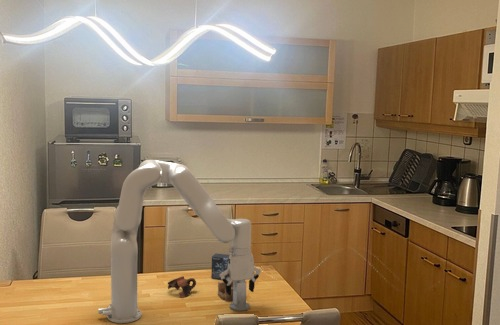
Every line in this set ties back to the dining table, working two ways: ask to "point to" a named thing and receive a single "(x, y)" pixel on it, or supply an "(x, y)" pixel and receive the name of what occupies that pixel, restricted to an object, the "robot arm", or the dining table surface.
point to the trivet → (239, 307)
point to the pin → (239, 293)
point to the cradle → (223, 291)
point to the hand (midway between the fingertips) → (240, 292)
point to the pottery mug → (182, 285)
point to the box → (219, 265)
